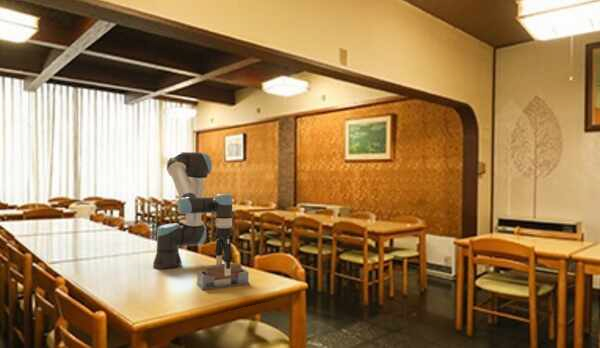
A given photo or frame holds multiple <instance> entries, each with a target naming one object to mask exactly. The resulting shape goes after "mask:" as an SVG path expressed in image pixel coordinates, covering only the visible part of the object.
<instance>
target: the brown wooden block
mask: <svg viewBox="0 0 600 348" xmlns="http://www.w3.org/2000/svg"><path fill="white" fill-rule="evenodd" d="M241 267H242V264H240V263H239V262H234V263H232V262H231V275H230V276H224V268H225V263H222V264H217V265H216V264H205V265H204V271H205V276H207V275H215V280H223V279H234V278H237V272H241Z"/></svg>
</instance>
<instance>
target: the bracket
mask: <svg viewBox="0 0 600 348" xmlns="http://www.w3.org/2000/svg"><path fill="white" fill-rule="evenodd" d="M249 273H250V272H249V271H248V270H247V269H245V268H243V267H242V266H241V272H237V278H234V279H223V280H215V275H207V276H205V270H200V271H197V281H196V286H198V287H199V288H200V289H201V290H202V291H207V290H208V291H209V290H215V289H216V290H217V289H223V288H224V289H225V288H233V287H241V286H243V287H244V286H249V285H250V281H249Z"/></svg>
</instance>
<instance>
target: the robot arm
mask: <svg viewBox="0 0 600 348" xmlns="http://www.w3.org/2000/svg"><path fill="white" fill-rule="evenodd" d="M166 163H167V164H166V171H167V173H168V175H169V176H170V177H171V179H172V181H173V183H174V186H175V189H176V192H177V194H178V197H179V198H178V200H177V210H178V213H180V214H185V219H184V220H183V221H182V225H180V224H179V223H166V224H162V225H160V226H158V227H157V231H156V232H157V233H156V253H155V256H154V260H153V263H152V266H153V268H155V269H161V270H167V269H168V270H169V269H177V268H179V267H181V266H182V264H183V263H182V259H181V256H180V253H179V250H180V249H179V248H180V247H188V246H189V247H190V246H199V245H202V244H203V243H205V240H206V238H207V234H208V233H207V226H206V225H205V224H204V221H203V220H202V217H203V216H202V215H203V214H211V213H213V214H215V220H214V222H215V226H216V227H215V236H216V244H215V250H214V253H215V255H216V256H215V259H216V261H215V262H216V264H215V265H217V264H223V262H224V264H225V268H224V276H230V275H231V263H232V261H234V260H233V259H234V258H233V252H232V251H233V250H232V241H231V240H232V239H231V238H229V237H231V236H232V235H233V227H232V226H233V195H232V194H229V193H219V194H217V195H216V196H211V197H204V189H205V187H204V186H205V180H206V179H207V178H208V175H209V174H211V173H212V169H213V165H212V159H211V156H210V155H209V154H208V153H205V152H194V151H193V152H192V151H190V152H186V151H179V152H177V153H174V154H173V155H171V157H169V159H168V161H167V162H166ZM223 256H224V260H223Z"/></svg>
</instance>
